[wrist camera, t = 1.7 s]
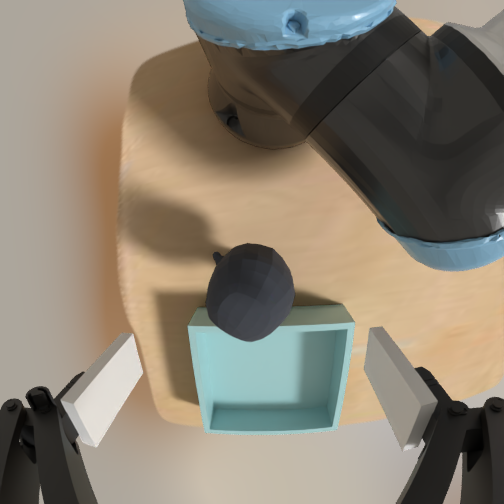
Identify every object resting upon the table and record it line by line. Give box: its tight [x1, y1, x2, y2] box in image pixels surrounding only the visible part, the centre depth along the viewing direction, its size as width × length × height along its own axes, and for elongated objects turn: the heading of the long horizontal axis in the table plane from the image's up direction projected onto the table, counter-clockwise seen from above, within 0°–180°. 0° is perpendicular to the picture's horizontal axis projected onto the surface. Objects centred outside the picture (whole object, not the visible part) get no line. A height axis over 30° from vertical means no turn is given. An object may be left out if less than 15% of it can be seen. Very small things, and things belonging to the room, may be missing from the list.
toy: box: [206, 243, 295, 342], centre depth 27 cm, size 9×8×15 cm
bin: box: [188, 304, 355, 435], centre depth 35 cm, size 18×19×6 cm
